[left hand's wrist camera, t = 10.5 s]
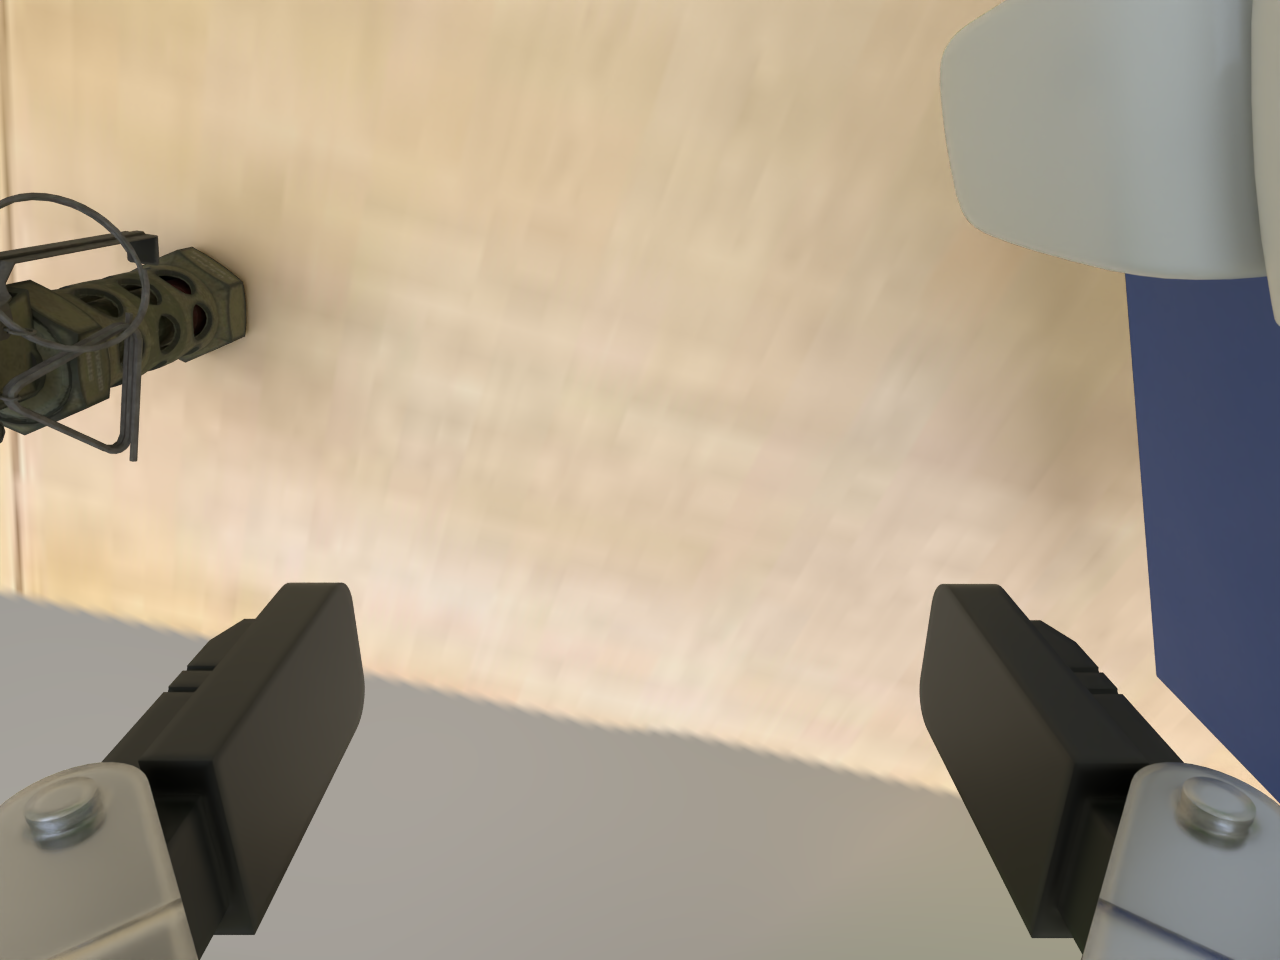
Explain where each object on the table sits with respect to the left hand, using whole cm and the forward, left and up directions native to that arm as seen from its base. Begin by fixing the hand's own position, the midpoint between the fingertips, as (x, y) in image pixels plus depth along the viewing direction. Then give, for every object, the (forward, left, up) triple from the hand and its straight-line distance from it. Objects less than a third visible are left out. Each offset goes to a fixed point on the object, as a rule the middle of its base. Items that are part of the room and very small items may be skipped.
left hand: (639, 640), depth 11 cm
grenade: (-15, -13, -29) cm, 35 cm away
